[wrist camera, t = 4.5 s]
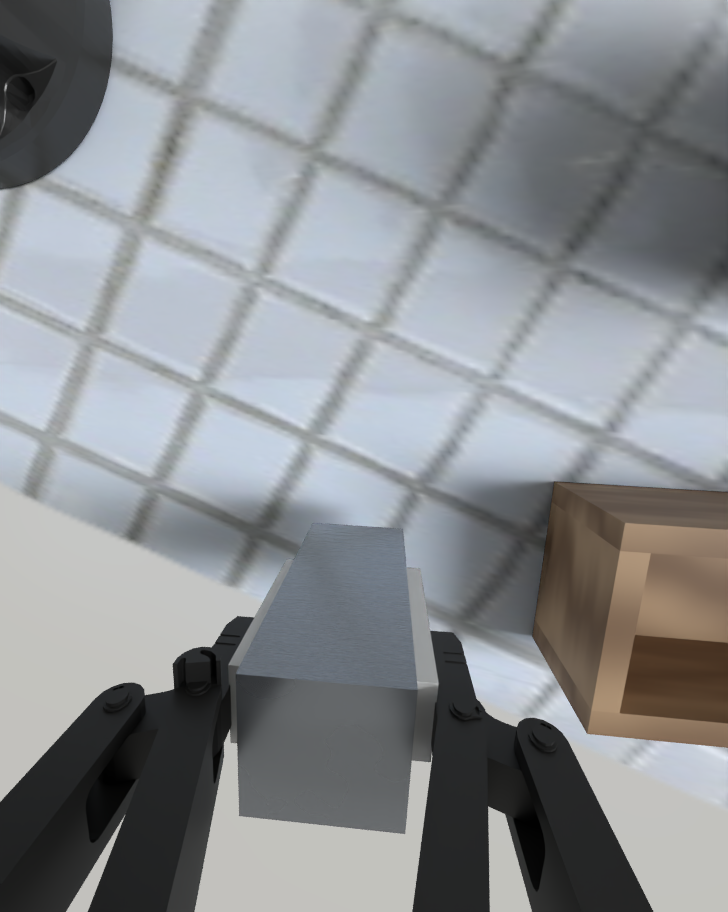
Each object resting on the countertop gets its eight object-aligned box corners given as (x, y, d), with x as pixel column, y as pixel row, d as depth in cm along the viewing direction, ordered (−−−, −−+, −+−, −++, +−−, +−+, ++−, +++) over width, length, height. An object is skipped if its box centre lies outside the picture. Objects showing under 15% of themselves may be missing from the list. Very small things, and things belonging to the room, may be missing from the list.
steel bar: (312, 522, 19) (235, 673, 10) (402, 528, 19) (417, 689, 9) (311, 603, 20) (239, 816, 10) (396, 610, 20) (404, 833, 10)
